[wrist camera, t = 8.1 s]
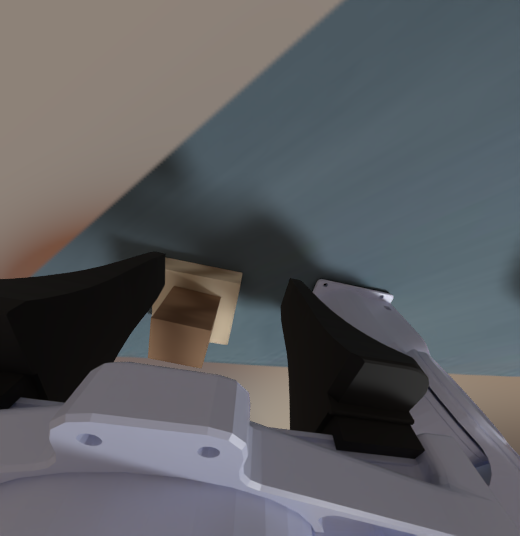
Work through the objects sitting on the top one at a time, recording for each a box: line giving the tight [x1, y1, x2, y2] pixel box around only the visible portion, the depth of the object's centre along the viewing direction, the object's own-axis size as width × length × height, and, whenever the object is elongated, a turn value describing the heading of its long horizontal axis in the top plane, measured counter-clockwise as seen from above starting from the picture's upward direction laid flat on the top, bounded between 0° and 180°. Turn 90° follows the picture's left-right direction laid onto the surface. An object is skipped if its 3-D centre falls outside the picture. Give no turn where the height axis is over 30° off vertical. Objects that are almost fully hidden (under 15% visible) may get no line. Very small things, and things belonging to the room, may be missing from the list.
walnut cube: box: [148, 286, 221, 368], centre depth 21 cm, size 5×5×5 cm
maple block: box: [152, 257, 242, 345], centre depth 24 cm, size 9×9×3 cm
